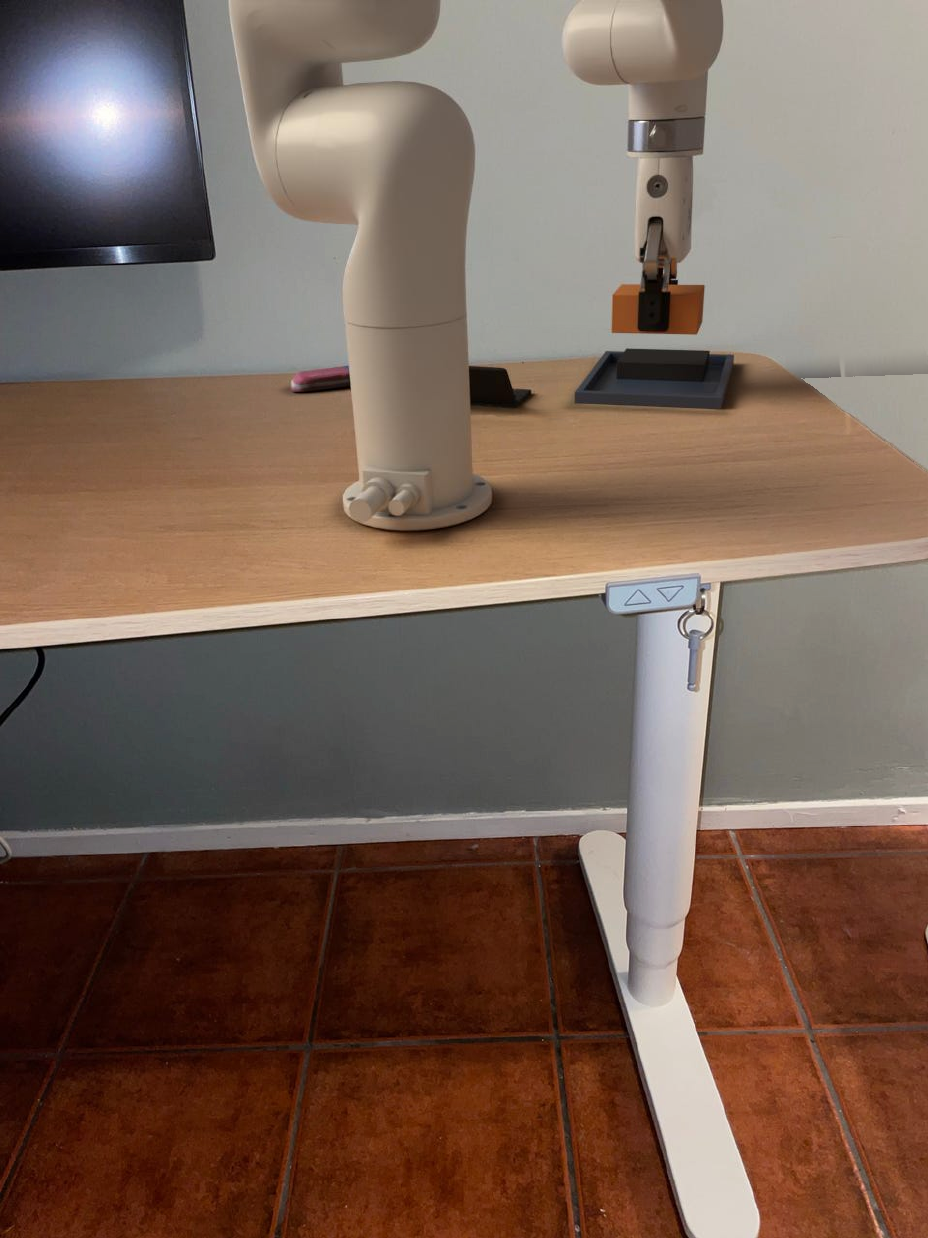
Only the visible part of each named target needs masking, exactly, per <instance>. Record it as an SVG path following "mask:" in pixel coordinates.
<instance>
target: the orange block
mask: <svg viewBox="0 0 928 1238" xmlns="http://www.w3.org/2000/svg"><path fill="white" fill-rule="evenodd" d="M705 288H706V285H705V284H678V285H668V291H671V295H670V315H669V328H668V330H667V331H666V332H646V331H639V330H638V301H639V291H640V284H634V283H633V284H632V283H631V284H626V283H625V284H620V285H619V287H617V289H616V290H615V291H614V292H613V293H612V296H611V334H647V335H649V334H650V335H690V336H691V335H692V336H693V335H698V333H699V330H700V328H701V326H702V323H703V318H704V317H703V316H704V303H705V302H704V301H705Z"/></svg>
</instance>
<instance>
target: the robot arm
mask: <svg viewBox="0 0 928 1238" xmlns="http://www.w3.org/2000/svg"><path fill="white" fill-rule="evenodd" d="M227 1H228V13H229V20H230V27H231V34H232V40H233V47H234V51H235V58H236V63H237V70H238V76H239V81H240V87H241V92H242V97H243V99H242V100H243V104H244V110H245V116H246V122H247V128H248V133H249V139H250V145H251V148H252V155H253V157H254V162H255V165H256V169H257V171H258V174H259V178H260V180H261V183H262V185H263V186H264V189H265V191H266V193H267V194H268V196H269V197H270V199H271V200H272V201H273V202H274V204H275V205H276V206H277V207H278V208H279V209H280V210H282V211H283V212H284V213H286V214H287V215H289V216H291V217H293V218H295V219H297V220H301V221H305V222H310V223H311V222H312V223H321V224H336V225H353V226H358V227H357V231H356V235H355V239H354V241H353V244H352V246H351V250H350V252H349V254H348V258H347V261H346V264H345V269H344V272H343V280H342V291H341V292H342V308H343V309H342V311H343V319H344V328H345V329H344V330H345V337H346V349H347V358H348V359H347V360H348V366H349V372H350V383H351V386H350V391H351V403H352V404H351V405H352V413H353V415H352V416H353V426H354V434H355V447H356V455H357V456H356V457H357V467H358V468H357V469H358V480H357V481H355V482H354V483H352V484H351V485H350V486H348V487H347V488H346V489H345V491H344V493H343V494H342V505H343V510H344V513H345V514H346V515H347V516H348V517H349V518H350V519H352V520H353V521H355V522H357V523H359V524H362V525H363V526H368V527H370V528H375V529H380V530H389V531H400V532H401V531H404V532H405V531H408V532H409V531H425V530H427V531H428V530H436V529H440V528H441V529H442V528H448V527H451V526H456V525H459V524H462V523H465V522H468V521H471V520H473V519H474V518H477V517H479V516H480V515H481V514H483V513H484V512H485V511H487V510H488V509H489V507H490V506H491V505H492V501H493V491H492V486H491V484H490V483H489V481H487V480H486V479H484V478H483V477H482V476H481V475H478V474H475V473H473V471H474V470H473V446H472V443H473V442H472V421H471V420H472V419H471V416H472V415H471V405H470V388H469V366H470V365H469V364H470V363H469V362H470V361H469V339H468V337H469V335H468V312H467V285H466V283H467V281H466V280H467V279H466V278H467V277H466V258H467V257H466V256H467V255H466V254H467V253H466V252H467V235H468V221H469V215H470V213H469V212H470V207H471V201H472V192H473V186H474V181H475V180H474V179H475V171H476V145H475V143H476V142H475V137H474V133H473V129H472V125H471V123H470V121H469V118H468V116H467V115H466V113H465V112H464V110H463V108H462V107H461V106H460V104H458V102H457V101H456V100H454V98H452V97H451V96H450V95H449V94H448V93H446V92H444V91H443V90H441V89H439V88H437V87H435V86H432V85H429V84H425V83H420V82H416V81H403V80H401V81H400V80H392V81H391V80H389V81H373V82H359V83H350V84H344V75H343V64H347V63H359V62H370V61H380V60H381V61H382V60H388V59H393V58H397V57H402V56H406V55H410V54H412V53H414V52H416V51H418V50H420V49H422V48H423V47H424V46H425V45H426V44H427V43H428V42H429V41H430V40H431V39H432V36H433V35H434V33H435V31H436V29H437V27H438V23H439V19H440V13H441V0H227ZM723 37H724V10H723V4H722V0H580V1H579V2H577V3H576V4H575V6H574V7H573V8H572V9H571V11H570V12H569V14H568V15H567V17H566V20H565V23H564V25H563V29H562V35H561V48H562V55H563V56H564V61H565V63H566V65H567V66H568V68H569V70H570V71H571V73H573V74H574V76H576V77H577V78H578V79H580V80H581V81H583V82H585V83H587V84H590V85H595V86H622V85H624V86H625V85H628V113H627V114H628V115H627V120H628V121H627V142H626V143H627V145H626V157H627V158H630V159H631V158H632V159H637V170H636V171H637V172H636V188H635V189H636V191H635V215H634V216H635V217H634V256H635V257H634V258H635V259H636V261H638V263H640V264H641V270H640V271H641V272H640V291H639V301H638V330H639V331H646V332H666V331H667V330H668V328H669V315H670V295H671V291H668V285H679V279H677V277H678V264H681V263H682V262H683V261H684V260H685V259H686V257H688V255H689V254H690V252H691V249H692V229H693V228H692V225H693V202H694V199H693V197H694V157H695V156H701V155H704V147H705V133H706V131H705V129H706V114H707V113H706V111H707V96H708V95H707V94H708V80H709V70H710V69H711V67H712V66H713V65H714V63H715V62H716V60H717V59H718V55H719V53H720V51H721V48H722V43H723V39H724V38H723Z"/></svg>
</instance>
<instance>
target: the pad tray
mask: <svg viewBox="0 0 928 1238" xmlns="http://www.w3.org/2000/svg"><path fill="white" fill-rule="evenodd" d="M623 353H624V351H622V350H621V351H618V350H617V351H616V350H606V351H604V353H603V354H602V355H601V357H600V358H599V359H598V360H597V362H596V363H595V364H594V366H593V368H592V369H591V370H590V371H589V373H588V374H587V375H586V377H585V378H584V380H583V381H582V382H581V383H580V385H579V386H578V387H577V388H576V390H575V391H574V404H581V405H605V406H627V407H628V406H629V407H651V408H652V407H653V408H673V409H674V408H677V409H699V410H722V409H723V405H724V400H725V397H726V393H727V389H728V386H729V382H730V379H731V374H732V371H733V367H734V361H735V355H734V354H728V353H727V354H725V353H709V367H708V370H707V372H706V375H705V378H704V381H703V382H693V381H665V380H637V379H617V378H616V375H617V361H618V360H619V358H620V357H621V355H622V354H623Z"/></svg>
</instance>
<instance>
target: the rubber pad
mask: <svg viewBox="0 0 928 1238" xmlns="http://www.w3.org/2000/svg"><path fill="white" fill-rule="evenodd" d="M623 352H624V353H623V354H622V355H621V357H620V358H619V360H618V361H617V375H616V378H617V379H637V380H665V381H693V382H703V381H704V378H705V375H706V372H707V370H708V367H709V354H711V353H710V350H700V349H698V350H697V349H661V348H629V347H628V348H627V347H626V348H625V350H624V351H623Z"/></svg>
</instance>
